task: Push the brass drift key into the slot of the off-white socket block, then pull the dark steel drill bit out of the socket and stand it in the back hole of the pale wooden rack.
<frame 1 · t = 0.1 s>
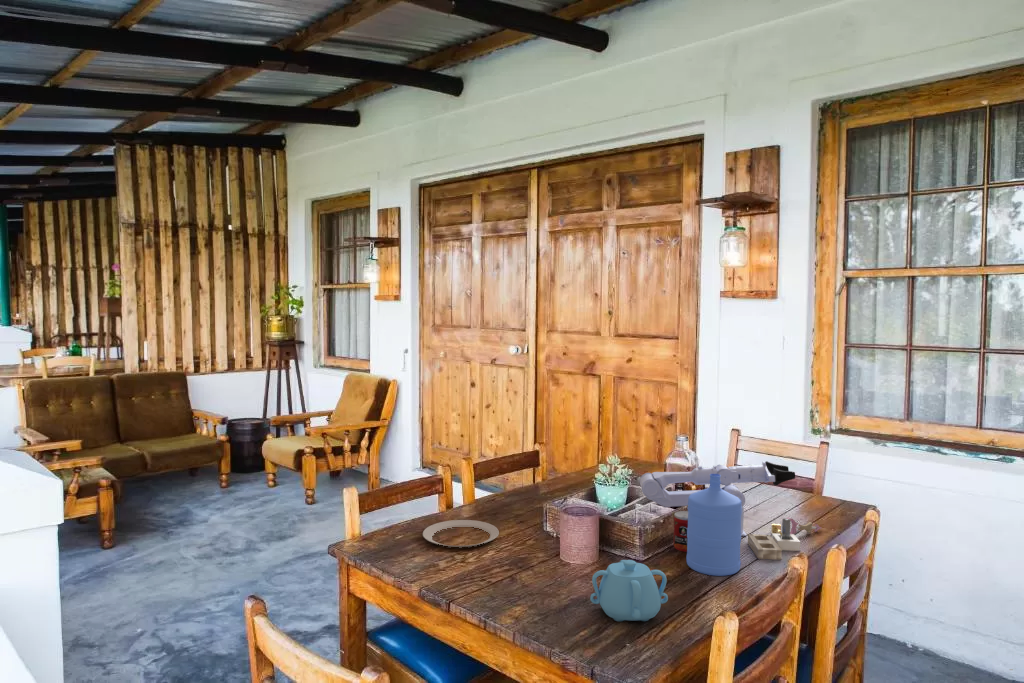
hand: (791, 472, 236), 22 cm above the table, tool horizontal, fingers open, 7 cm apart
decorative key: (802, 535, 237), on the table, touching socket block
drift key: (778, 531, 235), point 2 cm above the table, slide at 3.5 cm
decorative pot: (628, 613, 178), on the table
plate: (460, 538, 233), on the table
drill bit: (786, 533, 225), in the socket block
socket block: (785, 546, 226), on the table
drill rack: (761, 547, 225), on the table
water jug: (713, 567, 209), on the table
canned food: (685, 548, 224), on the table
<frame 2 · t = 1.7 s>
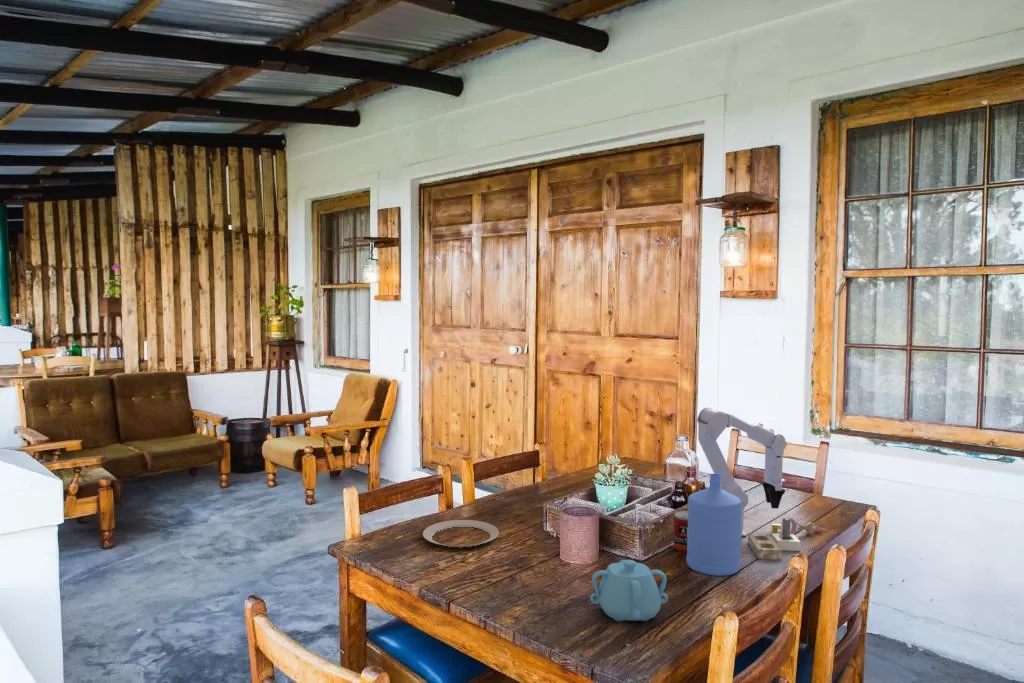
hand: (772, 505, 242), 8 cm above the table, tool pointing down, fingers open, 6 cm apart
nothing on the table moved.
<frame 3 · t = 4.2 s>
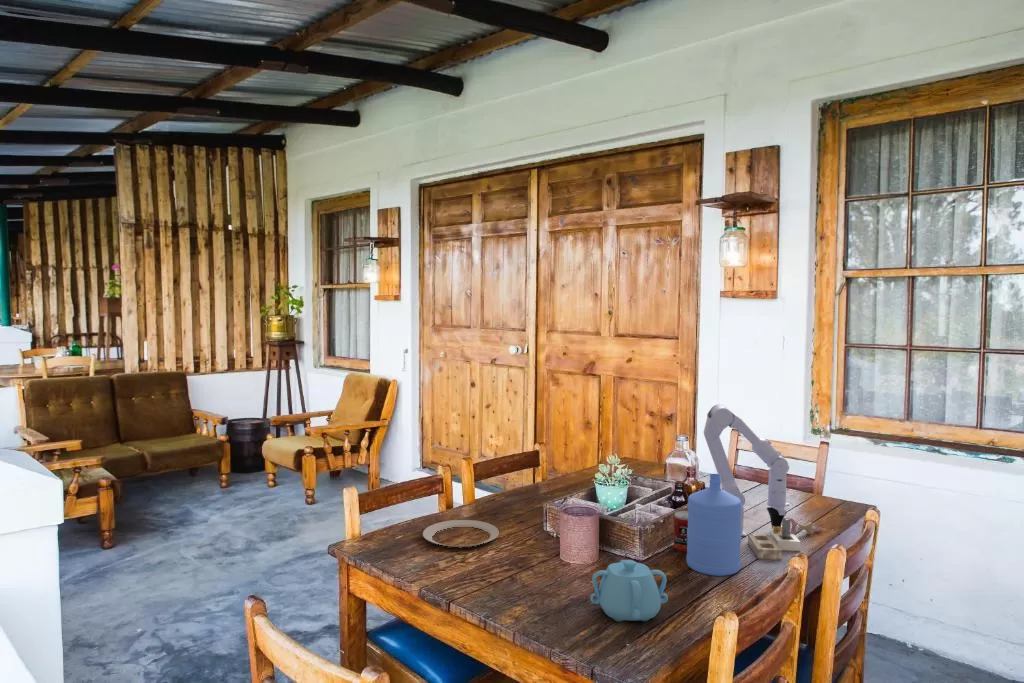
hand: (775, 529, 237), 2 cm above the table, tool pointing down, fingers closed
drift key: (779, 532, 233), point 2 cm above the table, slide at 2.0 cm, touching gripper
everything else where it was.
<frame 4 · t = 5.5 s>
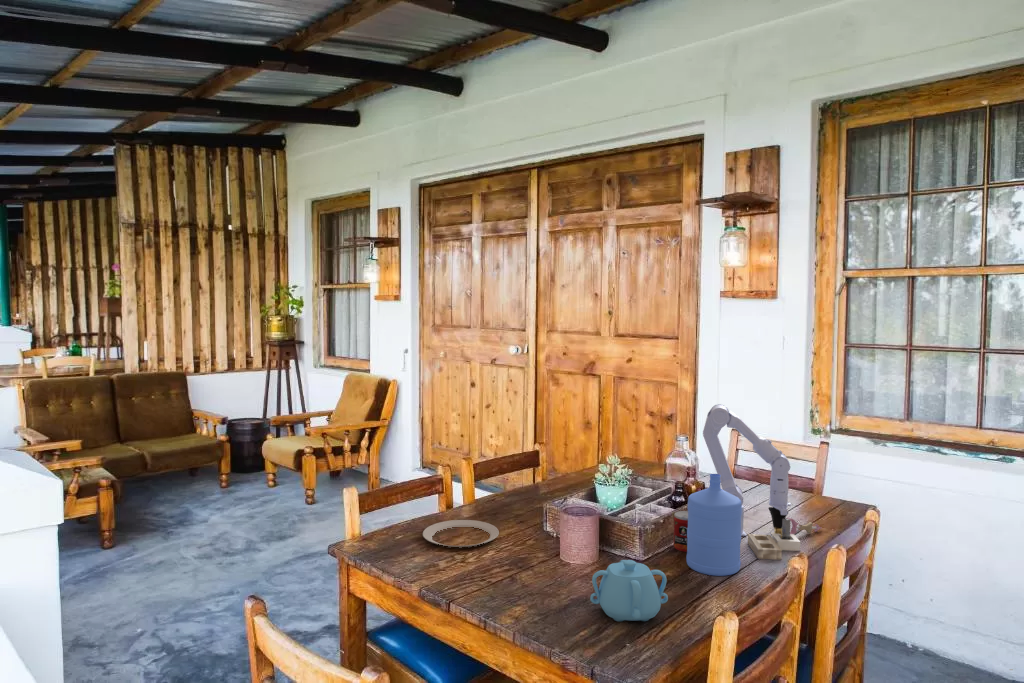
hand: (777, 529, 235), 2 cm above the table, tool pointing down, fingers closed
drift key: (781, 534, 231), point 2 cm above the table, slide at -0.1 cm
everything else where it was.
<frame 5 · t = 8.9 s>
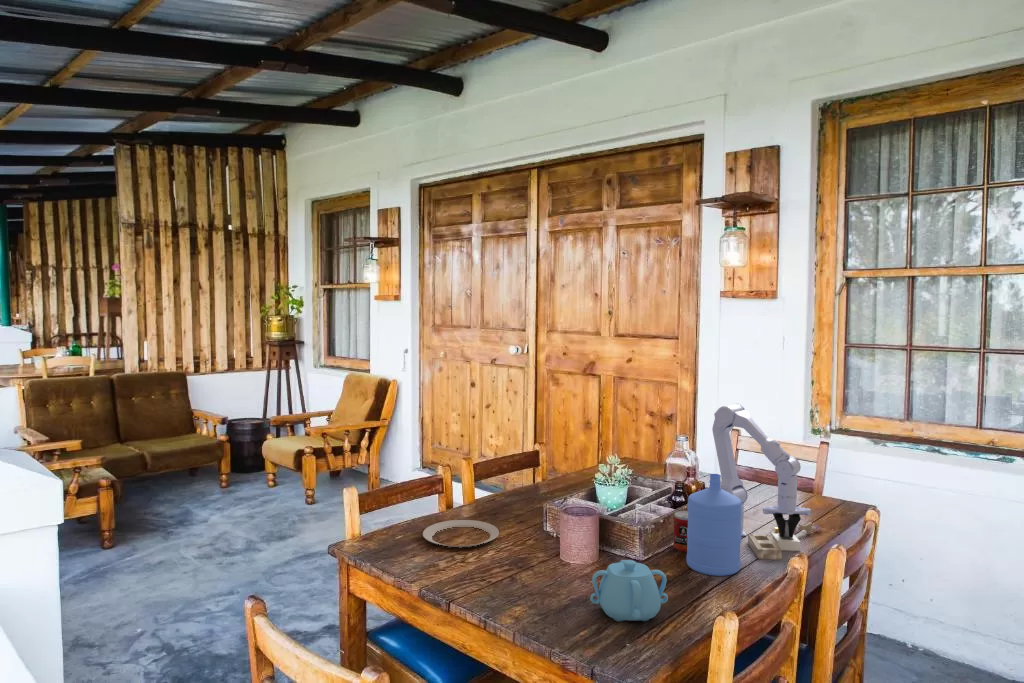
hand: (785, 536, 226), 3 cm above the table, tool pointing down, fingers closed on drill bit, 2 cm apart
drill bit: (786, 533, 225), in the socket block, touching gripper
everything else where it was.
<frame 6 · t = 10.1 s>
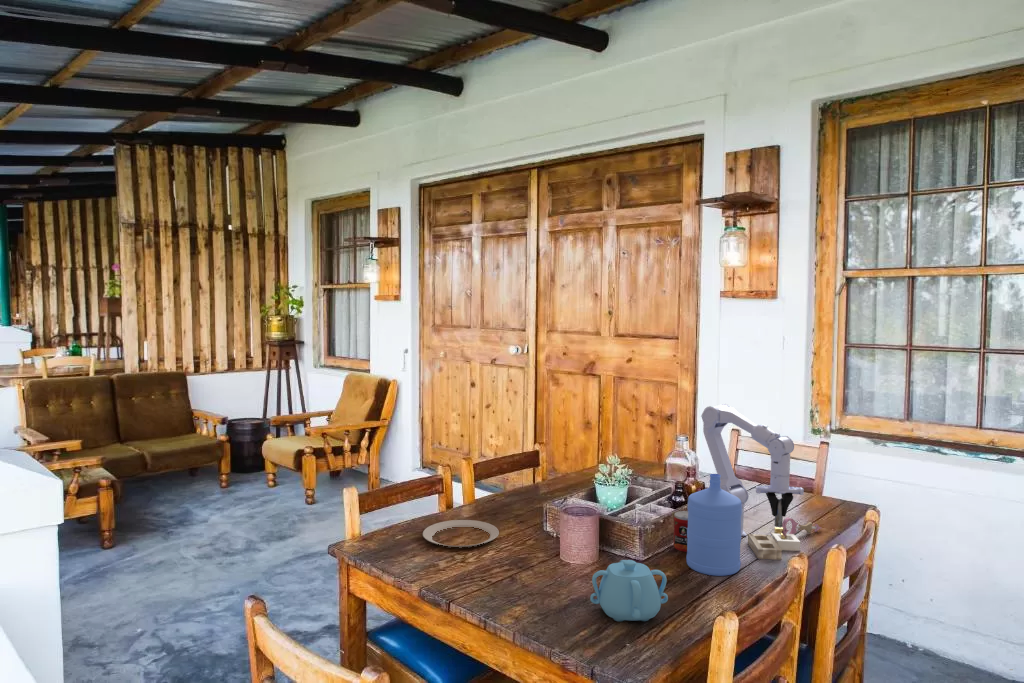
hand: (778, 515, 225), 10 cm above the table, tool pointing down, fingers closed on drill bit, 2 cm apart
drill bit: (778, 512, 225), point 11 cm above the table, touching gripper
everything else where it was.
when the fingers open (5 cm above the table, at t = 11.7 s): drill bit drops 1 cm, resting in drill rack.
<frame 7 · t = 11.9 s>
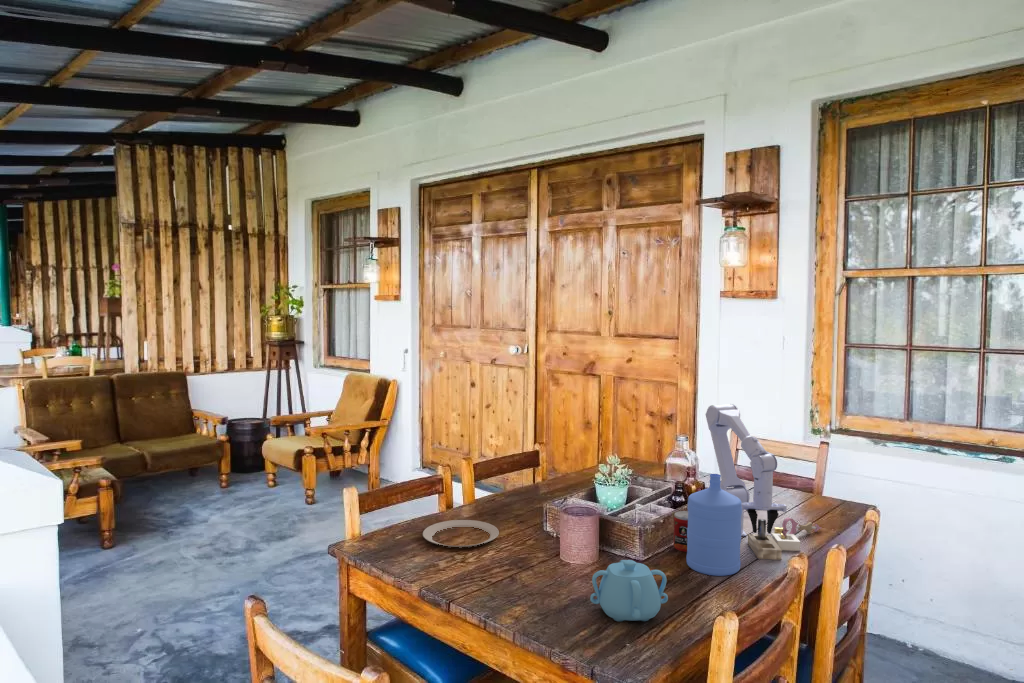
hand: (761, 532, 225), 5 cm above the table, tool pointing down, fingers open, 4 cm apart
drill bit: (761, 533, 225), in the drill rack
everything else where it was.
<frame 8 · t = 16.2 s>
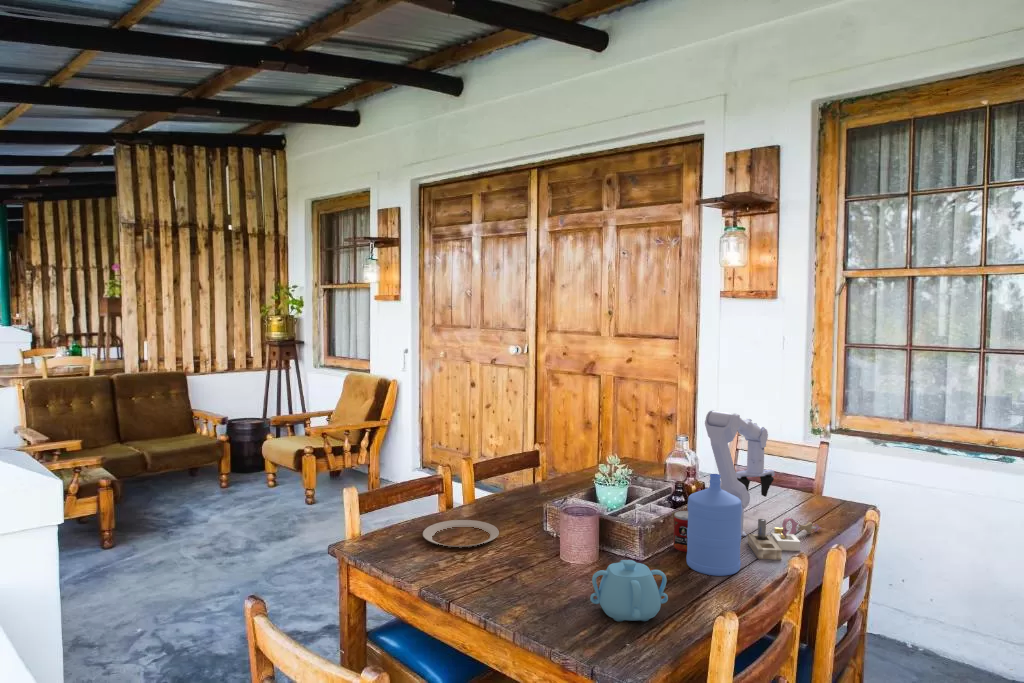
hand: (754, 496, 249), 9 cm above the table, tool pointing down, fingers open, 7 cm apart
nothing on the table moved.
at the end: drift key slide at -0.1 cm; drill bit 0.0 cm off-centre on the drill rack, point 4.5 cm above the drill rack's base; drill bit tilted 0° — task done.
